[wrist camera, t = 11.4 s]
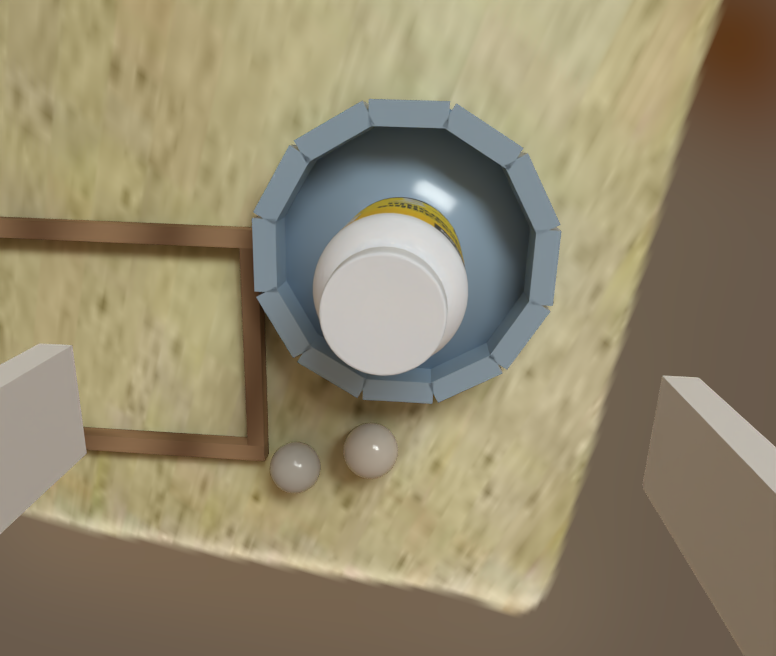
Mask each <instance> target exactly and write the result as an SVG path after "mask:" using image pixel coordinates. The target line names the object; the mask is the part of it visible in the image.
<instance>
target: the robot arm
mask: <svg viewBox="0 0 776 656" xmlns="http://www.w3.org/2000/svg"><path fill="white" fill-rule="evenodd" d="M86 453H87V452H86V444H85V437H84V429H83V422H82V414H81V407H80V399H79V392H78V385H77V377H76V370H75V362H74V355H73V347H72V345H59V344H38V345H36V346H34V347H32V348H30V349H28V350H27V351H25V352H23V353H21V354H19V355H17V356H15V357H14V358H12V359H10V360H8V361H6V362H4V363H2V364H1V365H0V534H1V533H2V532H3V531H4V530H5V529H6V528H7V527H8V526H9V525H10V524H11V523H12V522H14V521H15V520H16V519H17V518H18V517H19V516H20V515H21V514H22V513H23V512H24V511H25V510H26V509H27V508H29V507H30V506H31V505H32V504H33V503H34V502H35V501H36V500H37V499H38V498H39V497H40V496H41V495H42V494H44V493H45V492H46V491H47V490H48V489H49V488H50V487H51V486H52V485H53V484H54V483H55V482H56V481H57V480H59V479H60V478H61V477H62V476H63V475H64V474H65V473H66V472H67V471H68V470H69V469H70V468H71V467H72V466H74V465H75V464H76V463H77V462H78V461H79V460H80V459H81V458H82V457H83V456H84V455H85V454H86ZM642 488H643V489H644V491H645V492H646V494H647V495H648V498H649V499H650V501H651V502H652V504H653V506H654V508H655V509H656V511H657V513H658V514H659V516H660V517H661V519H662V521H663V522H664V524H665V526H666V527H667V529H668V531H669V532H670V534H671V536H672V537H673V539H674V541H675V542H676V544H677V546H678V547H679V549H680V550H681V552H682V554H683V556H684V557H685V559H686V560H687V562H688V564H689V566H690V567H691V569H692V570H693V572H694V574H695V576H696V577H697V579H698V580H699V582H700V584H701V585H702V587H703V589H704V590H705V592H706V594H707V595H708V597H709V599H710V600H711V602H712V604H713V605H714V607H715V609H716V610H717V612H718V614H719V615H720V617H721V619H722V620H723V622H724V624H725V625H726V627H727V628H728V630H729V632H730V634H731V635H732V637H733V638H734V640H735V642H736V643H737V645H738V647H739V649H740V650H741V652H742V653H743V655H744V656H776V447H775V446H774V445H773V444H771V443H770V442H769V441H768V440H767V439H766V438H765V437H764V436H763V435H761V434H760V433H759V432H758V431H757V430H756V429H755V428H754V427H753V426H751V425H750V424H749V423H748V422H747V421H746V420H745V419H744V418H742V416H740V415H739V414H738V413H737V412H736V411H735V410H734V409H733V408H732V407H731V406H729V405H728V404H727V403H726V402H725V401H724V400H723V399H722V398H721V397H719V396H718V395H717V394H716V393H715V392H714V391H713V390H712V389H711V388H710V387H708V386H707V385H706V384H705V383H704V382H703V381H702V380H701V379H700V378H697V377H677V376H662V380H661V386H660V391H659V397H658V403H657V408H656V413H655V419H654V424H653V430H652V436H651V441H650V447H649V452H648V458H647V463H646V469H645V474H644V481H643V486H642Z"/></svg>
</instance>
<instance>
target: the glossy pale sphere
mask: <svg viewBox="0 0 776 656" xmlns="http://www.w3.org/2000/svg"><path fill="white" fill-rule="evenodd" d="M320 470H321V464H320V459H319V456H318V455H317V453H316V451H315V450H314V449H313V448H312V447H310V446H309V445H307V444H305V443H301V442H291V443H287V444H285V445H283V446H282V447H280V448H279V449H278V450H277V451H276V452H275V454H274V455H273V457H272V460H271V463H270V474H271V477H272V480H273V481H274V483H275V484H276V486H277V487H279V488H280V489H281V490H283V491H285V492H288V493H301V492H304V491H306V490H308V489H309V488H311V487H312V486H313V485H314V484H315V482H316V481H317V479H318V477H319V475H320Z"/></svg>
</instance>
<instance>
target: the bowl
mask: <svg viewBox="0 0 776 656" xmlns="http://www.w3.org/2000/svg"><path fill="white" fill-rule="evenodd" d="M449 108H450V101H420V100H386V99H369V105H368V103H366V102H364V101H361V102H359V103H357V104H356V105H354V106H352V107H351V108H349V109H347V110H345V111H344V112H342V113H340V114H339V115H337V116H335V117H333V118H332V119H330V120H328V121H327V122H325V123H323V124H321V125H320V126H318V127H316V128H315V129H313V130H311V131H309V132H308V133H306V134H304V135H303V136H301V137H299V138H297V139H296V140H294V142H295V143H296V145H289V147H288V149H287V151H286V152H285V154H284V156H283V158H282V160H281V162H280V164H279V165H278V167H277V169H276V171H275V173H274V175H273V177H272V178H271V180H270V182H269V184H268V186H267V188H266V190H265V191H264V193H263V195H262V197H261V199H260V201H259V202H258V204H257V206H256V208H255V210H254V213H255V214H257V215H258V216H256V217H254V218H252V236H253V264H254V291H256V292H261V293H260V294H259V295H258V296H257V297H256V298H257V299H258V301H259V303H260V304H261V306H262V308H263V309H264V311H265V313H266V314H267V316H268V317H269V319H270V321H271V322H272V324H273V326H274V327H275V329H276V331H277V332H278V334H279V336H280V337H281V339H282V341H283V342H284V344H285V346H286V347H287V349H288V351H289V352H290V354H291V356H292V357H293V358H294V357H296V356H298V355H300V354H302V355H301V357H300V358H299V360H298V361H297V362H298V363H299V364H301V365H303V366H305V367H306V368H308V369H310V370H311V371H313V372H315V373H316V374H318V375H320V376H321V377H323V378H325V379H326V380H328V381H330V382H331V383H333V384H335V385H336V386H338V387H340V388H341V389H343V390H345V391H346V392H348V393H350V394H351V395H353V396H355V397H356V398H358V396H359V395H360V393H361V391H362V390H363V400H378V401H395V402H412V403H429V404H432V402H433V394H434V396H435V398H436V400H437V401H438V402H441V401H443V400H445V399H447V398H449V397H452V396H454V395H456V394H458V393H460V392H463V391H465V390H467V389H469V388H471V387H473V386H476V385H478V384H480V383H482V382H484V381H487V380H489V379H491V378H493V377H495V376H498V375H500V374H502V370H501V367H500V366H502V367H504V368H505V369H508V368H509V366H510V365H511V364H512V362H513V361H514V360H515V358H516V357H517V356H518V354H519V353H520V352H521V350H522V349H523V348H524V346H525V345H526V344H527V342H528V341H529V339H530V338H531V337H532V335H533V334H534V333H535V331H536V330H537V329H538V327H539V326H540V325H541V323H542V322H543V321H544V319H545V318H546V317H547V315H548V314H549V313H550V310H549V309H548V307H547V306H553V299H554V290H555V282H556V273H557V264H558V256H559V247H560V238H561V230H559V229H558V228H557V226H559V225H560V223H559V220H558V218H557V216H556V214H555V212H554V209H553V207H552V205H551V203H550V201H549V199H548V196H547V194H546V192H545V190H544V188H543V185H542V183H541V181H540V179H539V177H538V174H537V172H536V170H535V168H534V166H533V164H532V161H531V159H530V157H529V155H528V153H524V152H521V151H522V150H523V148H522V147H521V146H519V145H518V144H516V143H515V142H513V141H512V140H510V139H509V138H507V137H506V136H504V135H503V134H501V133H500V132H498V131H497V130H495V129H494V128H492V127H491V126H489V125H488V124H486V123H485V122H483V121H482V120H480V119H479V118H477V117H476V116H474V115H473V114H471V113H470V112H468V111H467V110H465V109H464V108H462V107H461V106H459V105H458V104H456V105H455V106H454V108H453V109H452V110H451V109H449ZM392 197H408V198H413V199H417V200H420V201H423V202H425V203H427V204H429V205H431V206H433V207H434V208H436V209H437V210H438V211H440V212H441V213H442V214H443V215H444V216H445V217H446V218H447V219H448V221H449V222H450V223H451V225H452V226H453V228H454V230H455V232H456V234H457V236H458V239H459V243H460V246H461V251H462V256H463V260H464V265H465V270H466V274H467V281H468V300H467V307H466V311H465V314H464V317H463V320H462V322H461V324H460V326H459V328H458V330H457V331H456V333H455V334H454V336H453V337H452V338H451V340H450V341H449V342H448V343H447V344H446V345H445V346H444V347H443V348H442V349H441V350H439V351H438V352H437V353H435V354H434V355H432V356H431V357H429V358H428V359H427V360H426V361H425V362H424V363H422V364H421V365H419V366H418V367H416V368H414V369H412V370H409V371H407V372H404V373H400V374H396V375H387V376H381V375H372V374H368V373H364V372H361V371H359V370H357V369H354V368H353V367H351V366H349V365H347V364H346V363H345V362H344V361H342V360H341V359H340V358H339V357H338V356H337V355H336V354H335V353H334V352H333V351H332V349H331V348H330V347H329V345H328V344H327V342H326V340H325V338H324V335H323V332H322V330H321V326H320V321H319V318H318V315H317V312H316V309H315V305H314V299H313V279H314V274H315V270H316V266H317V263H318V261H319V258H320V256H321V254H322V253H323V251H324V249H325V247H326V246H327V245H328V243H329V242H330V241H331V240H332V238H333V237H334V236H335V235H336V234H337V233H338V232H339V231H340V230H341V229H342V228H343V227H344V226H345V225H346V224H347V223H348V222H350V221H351V220H352V219H353V218H354V217H355V216H356V215H357V214H358V213H359V212H360V211H362V210H363V209H364V208H366V207H367V206H369V205H371V204H373V203H375V202H377V201H380V200H383V199H387V198H392ZM546 305H547V306H546Z"/></svg>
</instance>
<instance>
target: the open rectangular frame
mask: <svg viewBox="0 0 776 656" xmlns="http://www.w3.org/2000/svg"><path fill="white" fill-rule="evenodd" d="M0 238H23V239H46V240H69V241H92V242H114V243H137V244H160V245H183V246H205V247H228V248H240V272H241V296H242V319H243V343H244V367H245V390H246V414H247V437H234V436H218V435H202V434H186V433H170V432H154V431H138V430H121V429H105V428H89V427H83V429H84V437H85V444H86V450H99V451H114V452H130V453H145V454H161V455H176V456H192V457H208V458H223V459H239V460H254V461H265V460H266V458H267V456H268V454H269V442H268V409H267V377H266V344H265V312H264V309H263V308H262V306H261V304H260V303H259V301H258V299H257V298H256V297H257V296H258V295H259V294H260V293H261V292H256V291H254V264H253V236H252V227H232V226H208V225H184V224H161V223H137V222H113V221H89V220H65V219H41V218H17V217H0Z"/></svg>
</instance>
